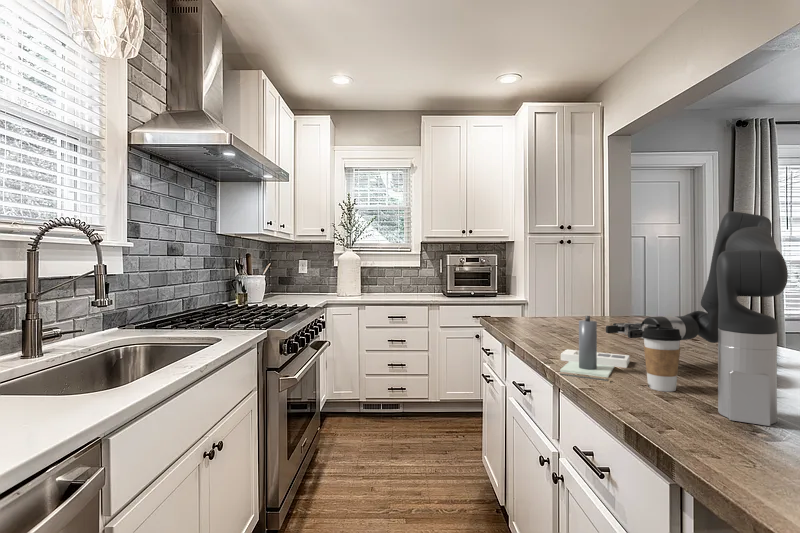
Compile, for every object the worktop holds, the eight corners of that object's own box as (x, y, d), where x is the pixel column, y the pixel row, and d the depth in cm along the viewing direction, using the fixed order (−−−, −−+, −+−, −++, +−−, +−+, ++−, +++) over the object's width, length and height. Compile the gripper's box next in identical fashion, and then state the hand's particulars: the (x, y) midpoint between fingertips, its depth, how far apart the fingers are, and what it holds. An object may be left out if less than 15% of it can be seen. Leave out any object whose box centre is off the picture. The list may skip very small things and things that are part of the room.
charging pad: (608, 381, 114) (608, 375, 114) (560, 375, 120) (560, 369, 120) (614, 371, 124) (614, 366, 124) (569, 366, 130) (569, 361, 130)
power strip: (651, 373, 120) (650, 362, 120) (560, 363, 133) (560, 353, 133) (652, 367, 127) (652, 356, 127) (566, 358, 140) (566, 348, 140)
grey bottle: (595, 370, 119) (595, 317, 119) (577, 368, 121) (577, 316, 121) (598, 367, 123) (597, 315, 122) (580, 365, 125) (580, 314, 125)
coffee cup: (648, 392, 104) (648, 329, 104) (637, 382, 112) (637, 324, 112) (688, 394, 102) (687, 330, 102) (674, 384, 110) (674, 325, 110)
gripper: (643, 313, 135) (599, 315, 131) (684, 319, 122) (636, 321, 117) (643, 337, 136) (599, 340, 131) (684, 346, 122) (637, 349, 118)
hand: (617, 331), depth 124 cm, fingers open, 8 cm apart
